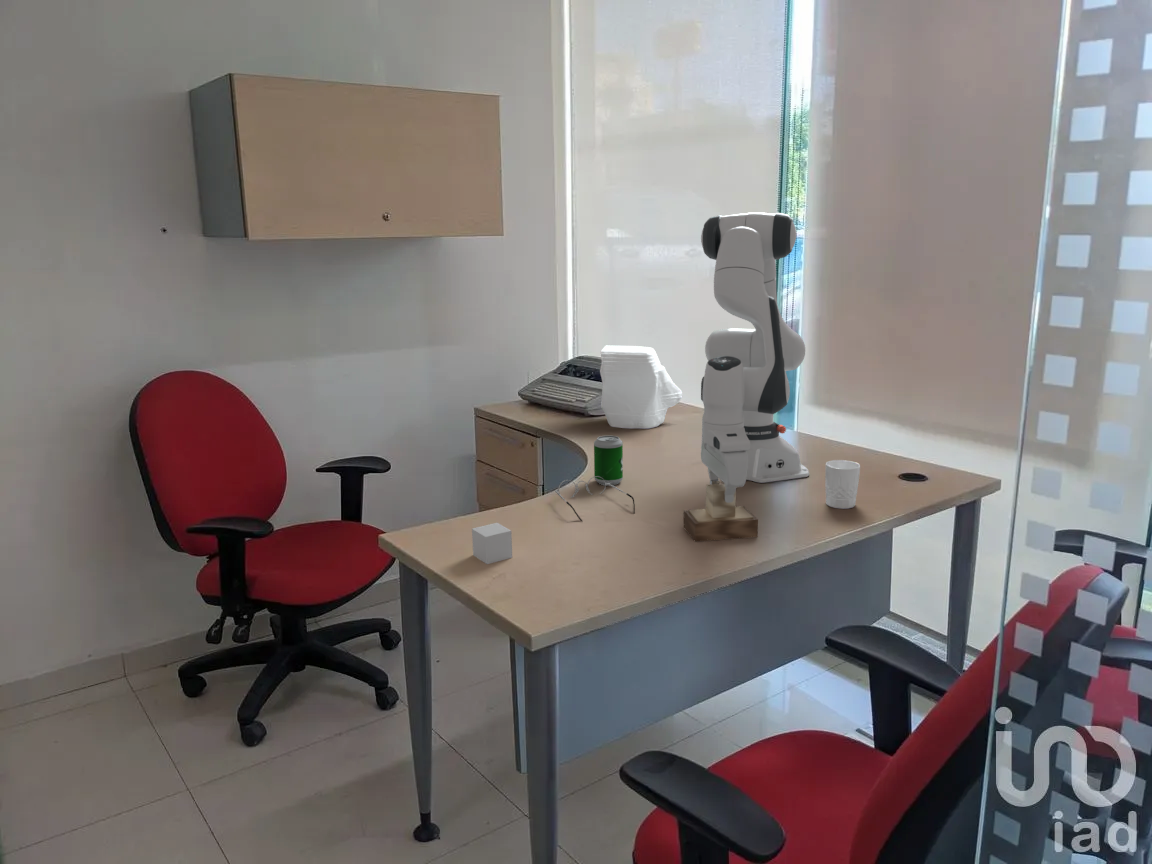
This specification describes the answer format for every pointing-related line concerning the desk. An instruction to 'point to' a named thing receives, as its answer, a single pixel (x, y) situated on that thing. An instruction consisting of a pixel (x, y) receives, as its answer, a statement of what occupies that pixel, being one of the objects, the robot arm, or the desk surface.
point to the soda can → (608, 460)
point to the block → (719, 502)
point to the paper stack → (635, 387)
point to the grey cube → (492, 543)
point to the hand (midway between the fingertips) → (721, 494)
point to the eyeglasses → (589, 493)
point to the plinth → (720, 525)
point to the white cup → (841, 483)
